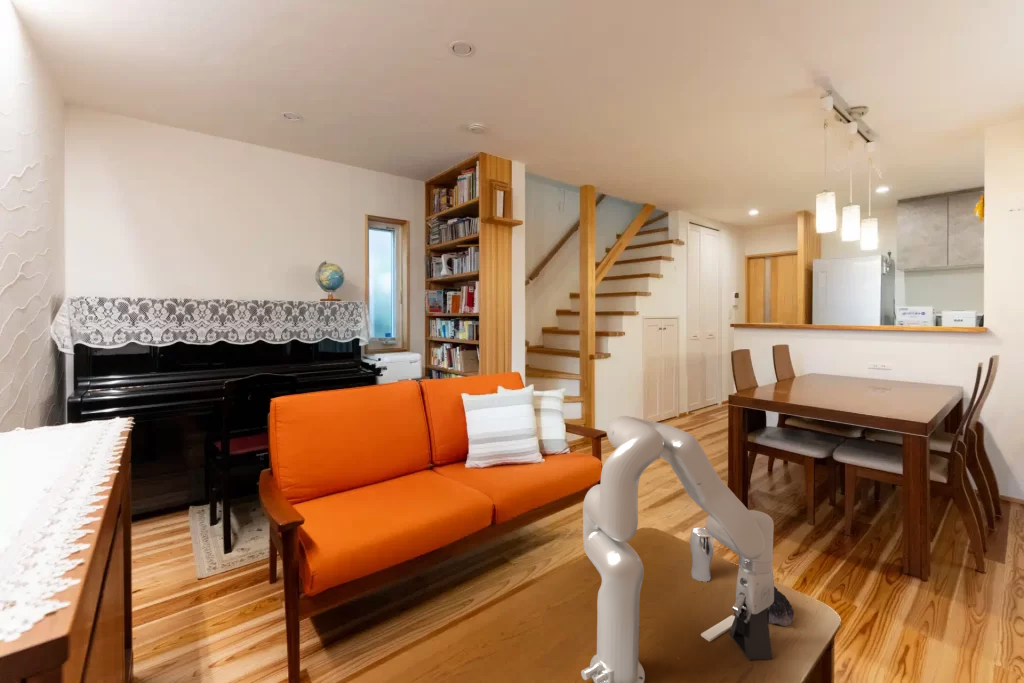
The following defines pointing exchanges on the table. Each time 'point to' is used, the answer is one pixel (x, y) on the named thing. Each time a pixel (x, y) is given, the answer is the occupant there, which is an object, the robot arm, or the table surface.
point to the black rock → (780, 610)
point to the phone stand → (754, 636)
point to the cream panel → (718, 629)
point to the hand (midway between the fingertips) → (752, 627)
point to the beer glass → (701, 553)
